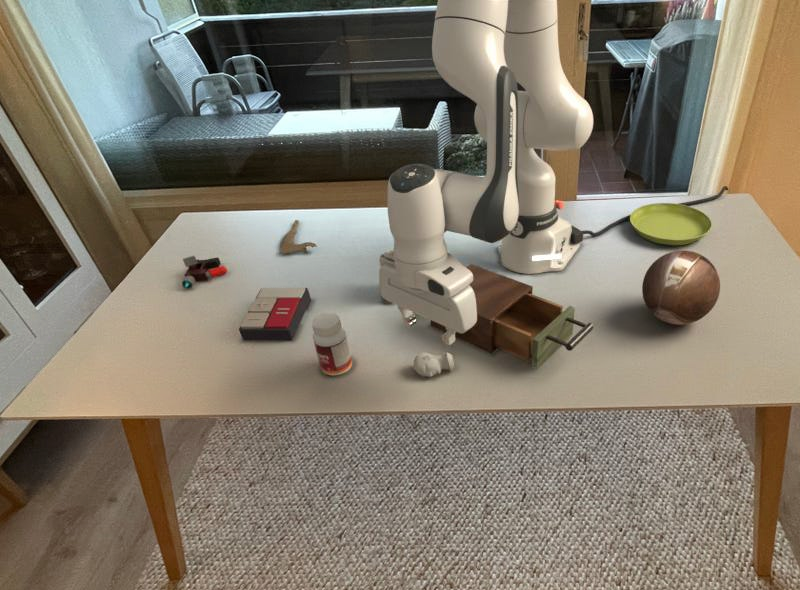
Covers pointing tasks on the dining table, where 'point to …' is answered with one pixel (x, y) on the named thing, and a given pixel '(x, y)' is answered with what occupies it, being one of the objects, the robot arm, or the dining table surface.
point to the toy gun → (201, 270)
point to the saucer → (670, 223)
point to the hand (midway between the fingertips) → (429, 332)
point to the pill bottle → (331, 344)
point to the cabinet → (489, 305)
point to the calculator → (275, 314)
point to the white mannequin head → (433, 363)
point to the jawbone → (288, 242)
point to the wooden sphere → (681, 287)
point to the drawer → (537, 329)
